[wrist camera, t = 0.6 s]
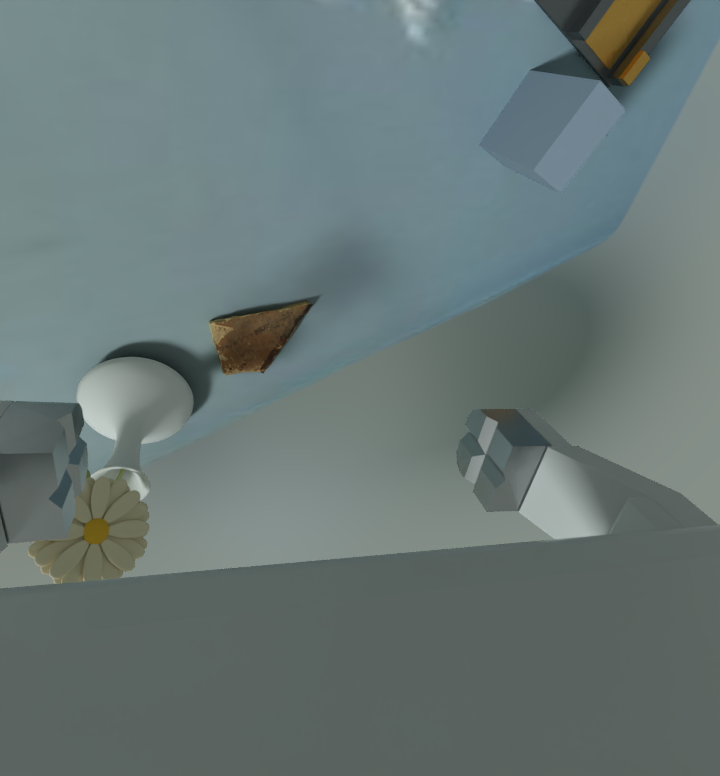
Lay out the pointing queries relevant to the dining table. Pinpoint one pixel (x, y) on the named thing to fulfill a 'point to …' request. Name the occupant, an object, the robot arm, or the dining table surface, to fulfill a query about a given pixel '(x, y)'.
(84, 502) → the flower in vase
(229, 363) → the shard
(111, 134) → the dining table surface
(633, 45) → the rack
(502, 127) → the blue-grey rectangular block
